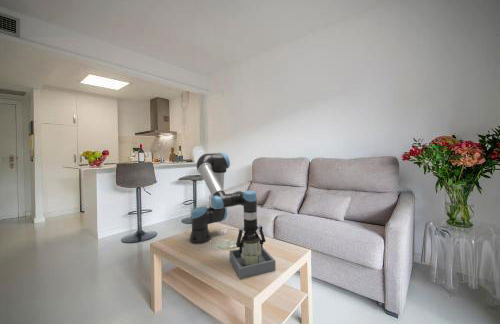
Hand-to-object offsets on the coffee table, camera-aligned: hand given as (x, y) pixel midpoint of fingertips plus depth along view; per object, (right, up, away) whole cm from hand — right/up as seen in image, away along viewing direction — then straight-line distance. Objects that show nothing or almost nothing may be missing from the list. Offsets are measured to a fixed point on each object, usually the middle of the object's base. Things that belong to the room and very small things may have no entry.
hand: (251, 256), depth 122 cm
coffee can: (0, -3, 0) cm, 4 cm away
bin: (0, -5, 0) cm, 5 cm away
